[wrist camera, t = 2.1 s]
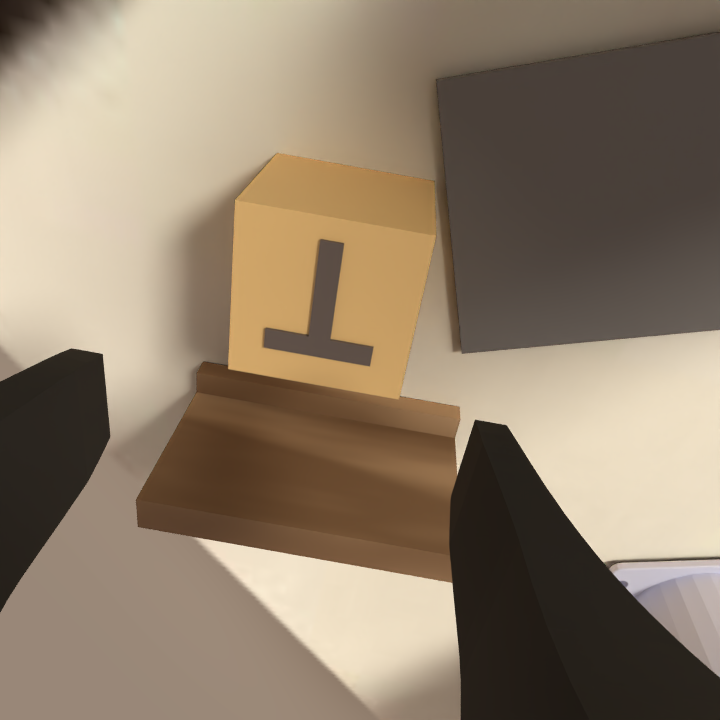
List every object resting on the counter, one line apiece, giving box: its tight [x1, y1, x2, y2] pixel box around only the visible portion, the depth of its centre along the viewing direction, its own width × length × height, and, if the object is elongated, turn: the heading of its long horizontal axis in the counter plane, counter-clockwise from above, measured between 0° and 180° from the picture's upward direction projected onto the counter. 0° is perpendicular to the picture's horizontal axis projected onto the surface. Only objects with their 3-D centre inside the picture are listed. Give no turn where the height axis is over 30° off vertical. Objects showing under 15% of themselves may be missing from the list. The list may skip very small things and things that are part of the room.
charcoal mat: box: [436, 32, 720, 354], centre depth 19 cm, size 9×9×1 cm
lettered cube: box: [228, 153, 436, 400], centre depth 18 cm, size 5×5×5 cm
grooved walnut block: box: [136, 362, 460, 583], centre depth 21 cm, size 3×10×6 cm, turn 81°
